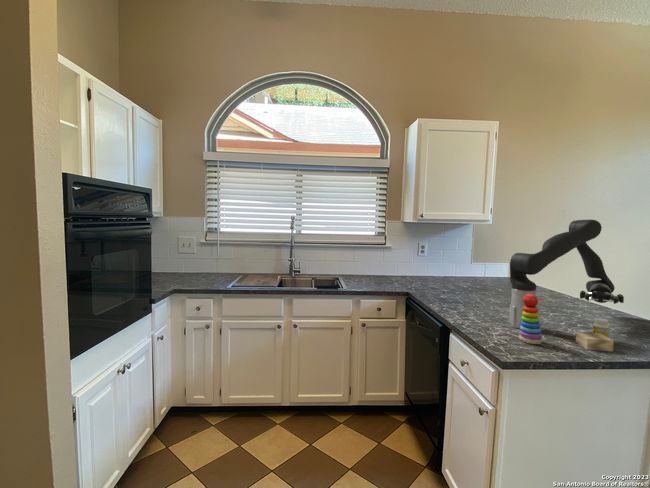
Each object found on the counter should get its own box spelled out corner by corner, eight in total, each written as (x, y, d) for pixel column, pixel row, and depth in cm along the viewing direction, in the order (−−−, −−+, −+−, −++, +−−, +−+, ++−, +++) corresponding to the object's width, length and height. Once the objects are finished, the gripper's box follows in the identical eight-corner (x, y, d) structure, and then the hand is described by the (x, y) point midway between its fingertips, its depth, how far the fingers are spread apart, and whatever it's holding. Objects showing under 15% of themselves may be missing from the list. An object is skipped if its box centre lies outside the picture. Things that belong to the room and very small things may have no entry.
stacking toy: (537, 338, 126) (538, 292, 125) (546, 345, 119) (548, 297, 118) (515, 336, 128) (516, 291, 127) (523, 344, 120) (524, 296, 119)
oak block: (586, 349, 115) (587, 338, 115) (575, 341, 123) (576, 331, 123) (613, 351, 113) (613, 340, 113) (600, 343, 121) (600, 333, 120)
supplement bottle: (592, 337, 127) (593, 317, 127) (607, 340, 124) (608, 319, 124) (592, 340, 124) (593, 319, 123) (608, 343, 121) (609, 322, 120)
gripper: (580, 283, 148) (579, 289, 136) (622, 286, 139) (625, 293, 127) (580, 298, 149) (579, 306, 137) (621, 303, 140) (624, 311, 127)
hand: (601, 299), depth 132 cm, fingers open, 8 cm apart
